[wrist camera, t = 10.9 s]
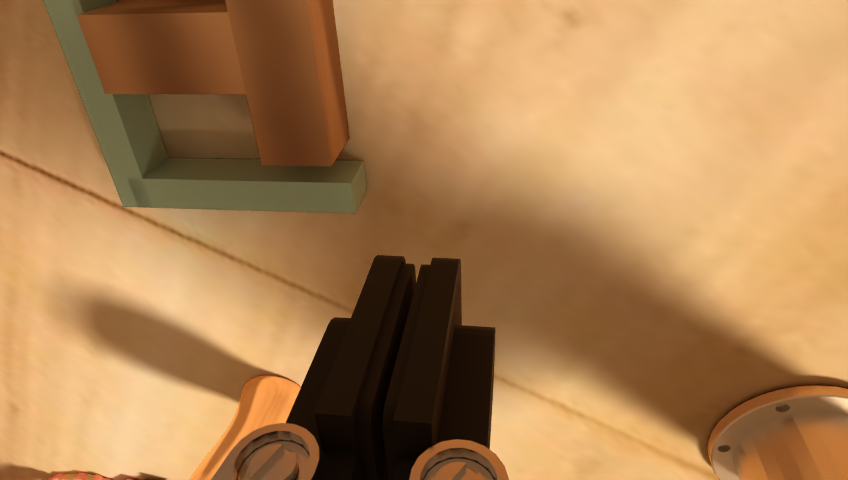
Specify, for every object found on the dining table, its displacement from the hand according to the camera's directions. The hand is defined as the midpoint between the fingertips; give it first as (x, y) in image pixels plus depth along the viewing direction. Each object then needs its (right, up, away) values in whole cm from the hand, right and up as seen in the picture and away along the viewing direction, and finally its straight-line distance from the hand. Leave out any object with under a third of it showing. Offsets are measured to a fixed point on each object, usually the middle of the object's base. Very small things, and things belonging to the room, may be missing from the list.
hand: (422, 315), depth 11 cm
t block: (-11, +13, +20) cm, 26 cm away
